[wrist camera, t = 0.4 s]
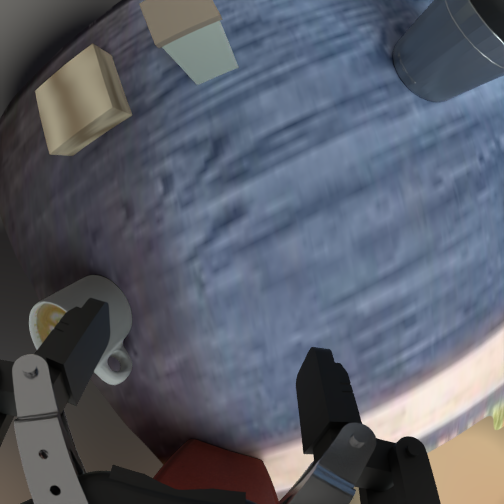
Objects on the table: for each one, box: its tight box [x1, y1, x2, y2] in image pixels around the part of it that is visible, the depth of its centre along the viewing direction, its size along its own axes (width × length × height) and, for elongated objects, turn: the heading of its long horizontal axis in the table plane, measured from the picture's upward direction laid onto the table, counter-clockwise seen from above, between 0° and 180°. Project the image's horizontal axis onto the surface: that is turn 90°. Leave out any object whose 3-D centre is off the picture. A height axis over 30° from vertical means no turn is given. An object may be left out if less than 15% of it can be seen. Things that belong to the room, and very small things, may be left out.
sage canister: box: [139, 0, 239, 85], centre depth 23 cm, size 5×5×12 cm
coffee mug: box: [29, 275, 132, 385], centre depth 32 cm, size 13×10×10 cm
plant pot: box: [153, 439, 279, 504], centre depth 34 cm, size 19×19×17 cm
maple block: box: [35, 44, 132, 156], centre depth 29 cm, size 10×10×5 cm
